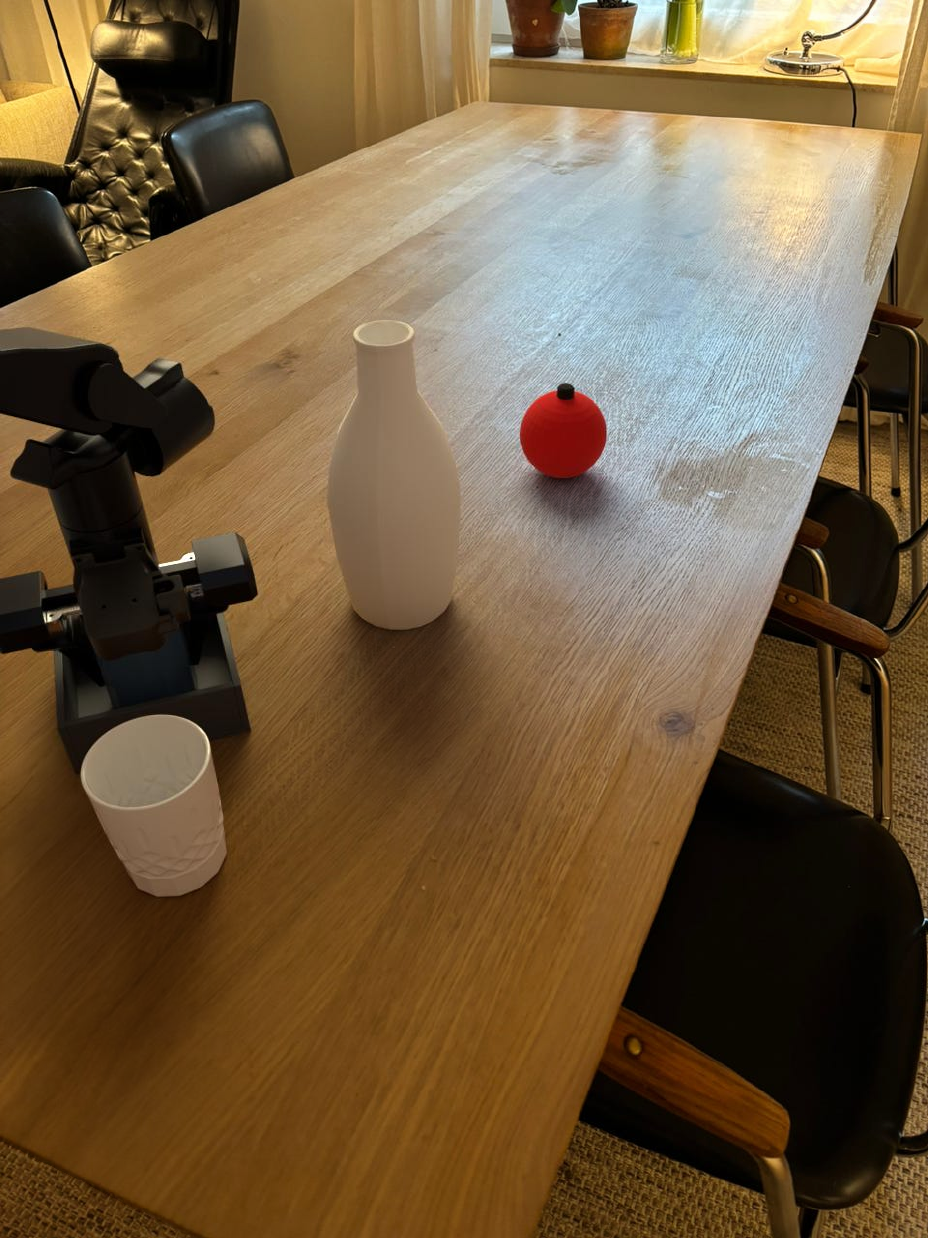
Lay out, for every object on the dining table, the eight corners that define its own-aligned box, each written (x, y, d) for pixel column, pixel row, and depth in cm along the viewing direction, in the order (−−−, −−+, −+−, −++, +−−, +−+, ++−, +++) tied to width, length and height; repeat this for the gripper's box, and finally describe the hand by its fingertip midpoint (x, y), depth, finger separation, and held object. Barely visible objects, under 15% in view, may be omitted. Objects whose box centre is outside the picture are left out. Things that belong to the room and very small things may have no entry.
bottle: (488, 600, 89) (490, 332, 73) (394, 659, 83) (373, 382, 67) (407, 547, 95) (392, 289, 79) (314, 598, 90) (277, 331, 73)
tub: (75, 774, 74) (56, 728, 71) (69, 661, 84) (52, 616, 80) (251, 730, 77) (241, 684, 74) (225, 626, 87) (215, 581, 84)
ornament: (618, 464, 106) (626, 378, 100) (578, 504, 101) (584, 416, 94) (544, 441, 110) (548, 357, 104) (502, 478, 104) (504, 392, 98)
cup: (94, 712, 78) (67, 637, 73) (140, 656, 83) (117, 582, 78) (171, 730, 77) (148, 654, 72) (213, 672, 82) (194, 597, 76)
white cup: (171, 927, 64) (135, 831, 58) (95, 866, 68) (54, 769, 61) (259, 846, 69) (236, 749, 62) (184, 793, 73) (154, 697, 66)
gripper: (-50, 608, 61) (26, 776, 71) (254, 546, 65) (285, 713, 75) (-42, 511, 69) (25, 674, 79) (228, 462, 73) (259, 622, 83)
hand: (149, 672), depth 79 cm, fingers closed on cup, 7 cm apart
